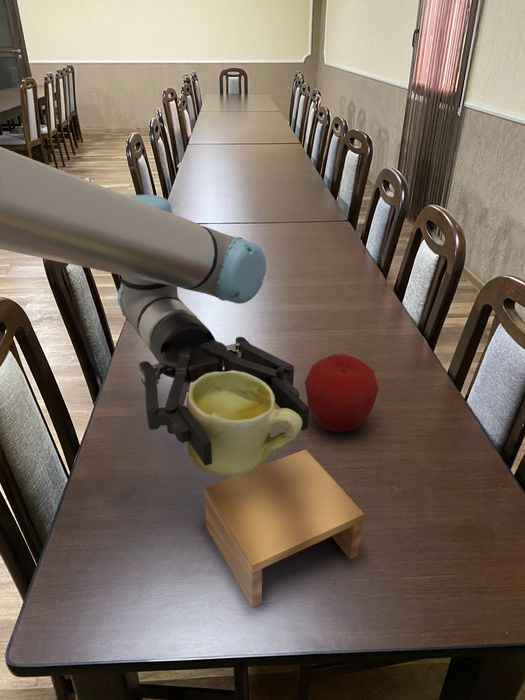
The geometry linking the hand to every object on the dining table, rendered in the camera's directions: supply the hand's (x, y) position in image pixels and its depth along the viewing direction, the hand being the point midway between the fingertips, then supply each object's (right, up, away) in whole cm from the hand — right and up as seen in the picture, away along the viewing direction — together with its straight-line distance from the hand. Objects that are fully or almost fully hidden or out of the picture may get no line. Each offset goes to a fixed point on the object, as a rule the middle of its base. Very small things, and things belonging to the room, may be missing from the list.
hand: (259, 436), depth 53 cm
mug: (-2, -3, +6) cm, 7 cm away
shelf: (+2, -14, +11) cm, 18 cm away
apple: (+12, -3, +30) cm, 33 cm away
